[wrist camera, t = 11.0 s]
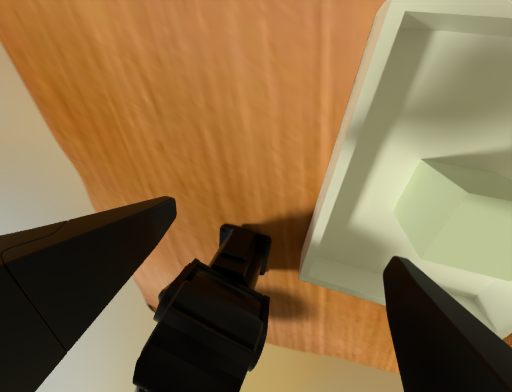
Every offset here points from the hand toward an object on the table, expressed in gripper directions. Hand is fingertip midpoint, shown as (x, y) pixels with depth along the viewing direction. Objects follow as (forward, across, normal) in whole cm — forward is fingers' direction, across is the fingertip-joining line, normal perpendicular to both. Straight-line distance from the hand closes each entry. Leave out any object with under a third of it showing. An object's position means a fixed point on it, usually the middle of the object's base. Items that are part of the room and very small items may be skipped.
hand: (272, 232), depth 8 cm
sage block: (+12, -12, +1) cm, 17 cm away
